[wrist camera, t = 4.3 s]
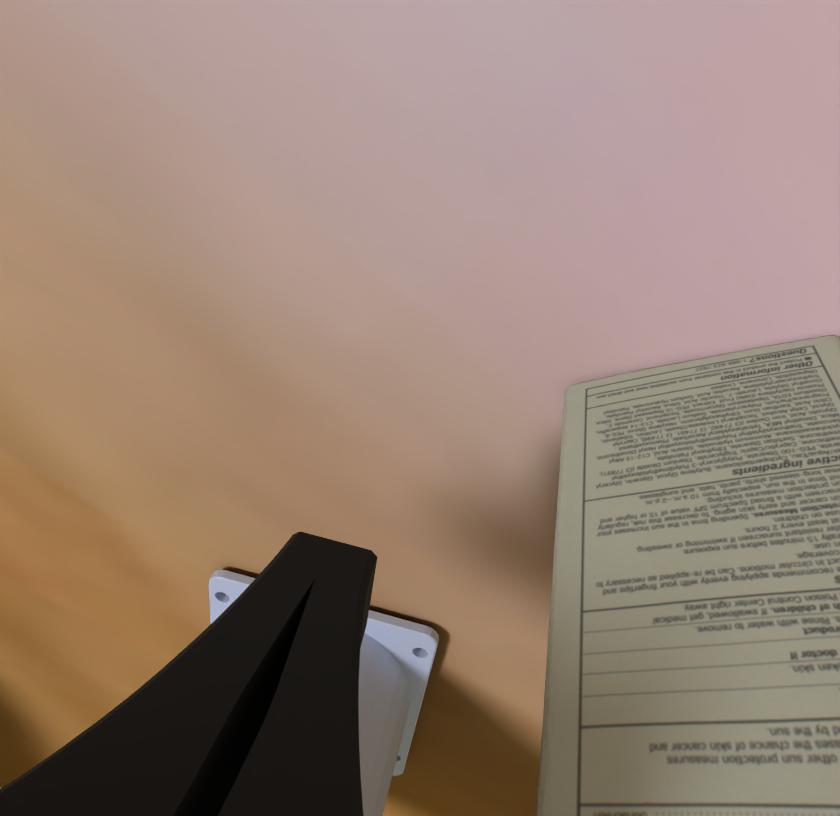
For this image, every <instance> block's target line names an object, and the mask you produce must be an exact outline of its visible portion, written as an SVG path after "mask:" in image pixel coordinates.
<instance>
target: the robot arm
mask: <svg viewBox="0 0 840 816" xmlns="http://www.w3.org/2000/svg"><path fill="white" fill-rule="evenodd" d="M376 562H377V556H376V555H375V554H374V553H373V552H372V551H371V550H368V549H364V548H360V547H356V546H353V545H349V544H345V543H341V542H338V541H334V540H330V539H326V538H323V537H319V536H315V535H311V534H307V533H304V532H298V533H296V534H293V535H292V537H291V538H290V539H289V541H288V542H287V543H286V544H285V546H284V547H283V548H282V549H281V550H280V552H279V553H278V554H277V555H276V556H275V557H274V559H273V560H272V561H271V562H270V563H269V564H268V566H267V567H266V568H265V569H264V570H263V571H262V572H261V573H260V574H259V576H258V577H257V578H253V577H249V576H245V575H242V574H238V573H235V572H231V571H227V570H217V571H215V572H214V573H213V574H212V576H211V578H210V580H209V601H210V621H211V625H210V626H209V627H208V628H207V629H206V630H205V631H203V632H202V633H201V634H200V635H199V636H198V637H197V638H196V639H195V640H194V641H193V642H192V643H190V644H189V645H188V646H187V647H186V648H185V649H184V650H183V651H182V652H180V653H179V654H178V655H177V656H176V657H175V658H174V659H173V660H172V661H170V662H169V663H168V664H167V665H166V666H165V667H164V668H163V669H162V670H160V671H159V672H158V673H157V674H156V675H155V676H153V677H152V678H151V679H150V680H149V681H147V682H146V683H145V684H144V685H143V686H141V687H140V688H139V689H138V690H137V691H135V692H134V693H133V694H132V695H131V696H129V697H128V698H127V699H126V700H124V701H123V702H122V703H120V704H119V705H118V706H117V707H115V708H114V709H113V710H112V711H110V712H109V713H108V714H106V715H105V716H104V717H103V718H101V719H100V720H99V721H97V722H96V723H95V724H93V725H92V726H91V727H89V728H88V729H87V730H85V731H84V732H82V733H81V734H80V735H78V736H77V737H76V738H74V739H73V740H71V741H70V742H69V743H67V744H66V745H65V746H63V747H62V748H60V749H59V750H58V751H56V752H55V753H54V754H52V755H51V756H49V757H48V758H46V759H45V760H44V761H42V762H41V763H39V764H38V765H36V766H35V767H34V768H32V769H31V770H29V771H28V772H26V773H25V774H23V775H22V776H20V777H19V778H17V779H16V780H14V781H12V782H11V783H9V784H8V785H6V786H5V787H3V788H1V789H0V816H382V815H383V811H384V807H385V803H386V799H387V795H388V791H389V787H390V783H391V779H392V776H399V775H401V774H402V773H403V771H404V768H405V764H406V760H407V757H408V753H409V749H410V746H411V742H412V738H413V734H414V731H415V727H416V723H417V720H418V716H419V712H420V709H421V705H422V701H423V698H424V694H425V690H426V687H427V683H428V679H429V675H430V672H431V668H432V664H433V661H434V657H435V653H436V650H437V646H438V641H439V635H438V633H437V632H436V631H435V630H434V629H433V628H431V627H428V626H426V625H422V624H418V623H415V622H411V621H408V620H404V619H400V618H397V617H393V616H390V615H386V614H382V613H379V612H375V611H371V610H369V606H370V600H371V593H372V587H373V581H374V574H375V568H376Z"/></svg>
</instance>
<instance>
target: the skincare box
mask: <svg viewBox="0 0 840 816" xmlns="http://www.w3.org/2000/svg"><path fill="white" fill-rule="evenodd" d="M536 816H840V337H837V336H824V337H819V338H813V339H807V340H801V341H796V342H791V343H783V344H778V345H772V346H767V347H761V348H755V349H750V350H745V351H740V352H734V353H728V354H723V355H718V356H713V357H708V358H703V359H698V360H693V361H688V362H682V363H677V364H671V365H666V366H660V367H655V368H650V369H645V370H640V371H634V372H629V373H624V374H620V375H616V376H611V377H607V378H603V379H598V380H593V381H588V382H584V383H580V384H575V385H571V386H569V387H567V388H566V390H565V396H564V409H563V424H562V439H561V455H560V472H559V488H558V501H557V518H556V530H555V545H554V559H553V577H552V591H551V604H550V620H549V633H548V649H547V666H546V681H545V696H544V714H543V728H542V740H541V757H540V774H539V784H538V804H537V815H536Z"/></svg>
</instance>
